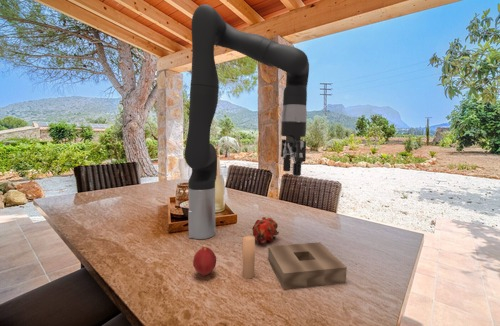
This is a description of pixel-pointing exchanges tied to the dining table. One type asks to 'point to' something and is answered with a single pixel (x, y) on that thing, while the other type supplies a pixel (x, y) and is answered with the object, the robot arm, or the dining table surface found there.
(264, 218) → the dragon fruit
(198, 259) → the onion
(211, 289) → the dining table surface
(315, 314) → the dining table surface
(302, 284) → the hole block
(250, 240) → the peg
